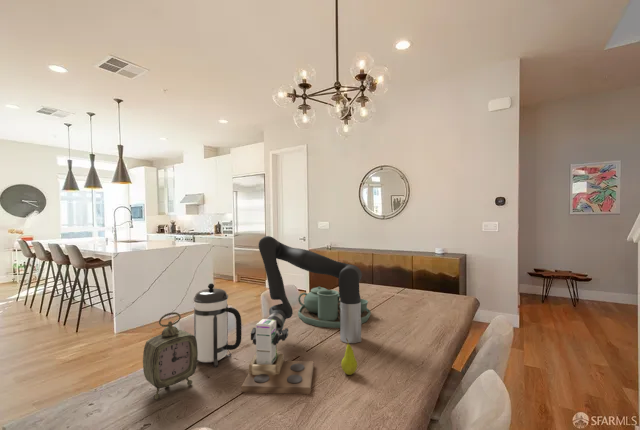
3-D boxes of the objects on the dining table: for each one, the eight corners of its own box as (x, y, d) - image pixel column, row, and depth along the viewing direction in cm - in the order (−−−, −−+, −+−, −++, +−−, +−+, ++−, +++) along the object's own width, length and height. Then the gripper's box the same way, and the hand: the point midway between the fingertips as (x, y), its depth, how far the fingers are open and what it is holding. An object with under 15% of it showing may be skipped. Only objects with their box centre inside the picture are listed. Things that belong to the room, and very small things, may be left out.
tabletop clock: (152, 404, 96) (152, 321, 96) (140, 393, 102) (140, 315, 102) (197, 384, 107) (197, 310, 107) (184, 375, 113) (184, 305, 113)
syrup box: (271, 366, 111) (271, 325, 111) (255, 364, 113) (255, 323, 112) (276, 358, 117) (277, 319, 117) (261, 357, 118) (261, 318, 118)
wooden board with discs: (313, 366, 119) (313, 353, 119) (310, 393, 101) (310, 378, 101) (255, 365, 120) (255, 352, 120) (241, 392, 102) (241, 376, 102)
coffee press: (193, 374, 114) (193, 290, 114) (189, 356, 128) (188, 281, 128) (242, 363, 122) (241, 285, 122) (232, 347, 136) (232, 277, 136)
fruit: (353, 379, 110) (352, 344, 110) (338, 375, 113) (338, 341, 113) (360, 372, 115) (360, 339, 115) (345, 368, 118) (345, 336, 118)
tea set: (382, 324, 165) (382, 292, 165) (307, 332, 154) (306, 298, 154) (354, 303, 203) (354, 277, 203) (292, 308, 193) (292, 281, 193)
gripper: (256, 315, 129) (244, 331, 113) (291, 316, 129) (285, 332, 112) (256, 333, 129) (244, 352, 113) (291, 334, 129) (285, 353, 112)
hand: (264, 342), depth 112 cm, fingers closed on syrup box, 6 cm apart
